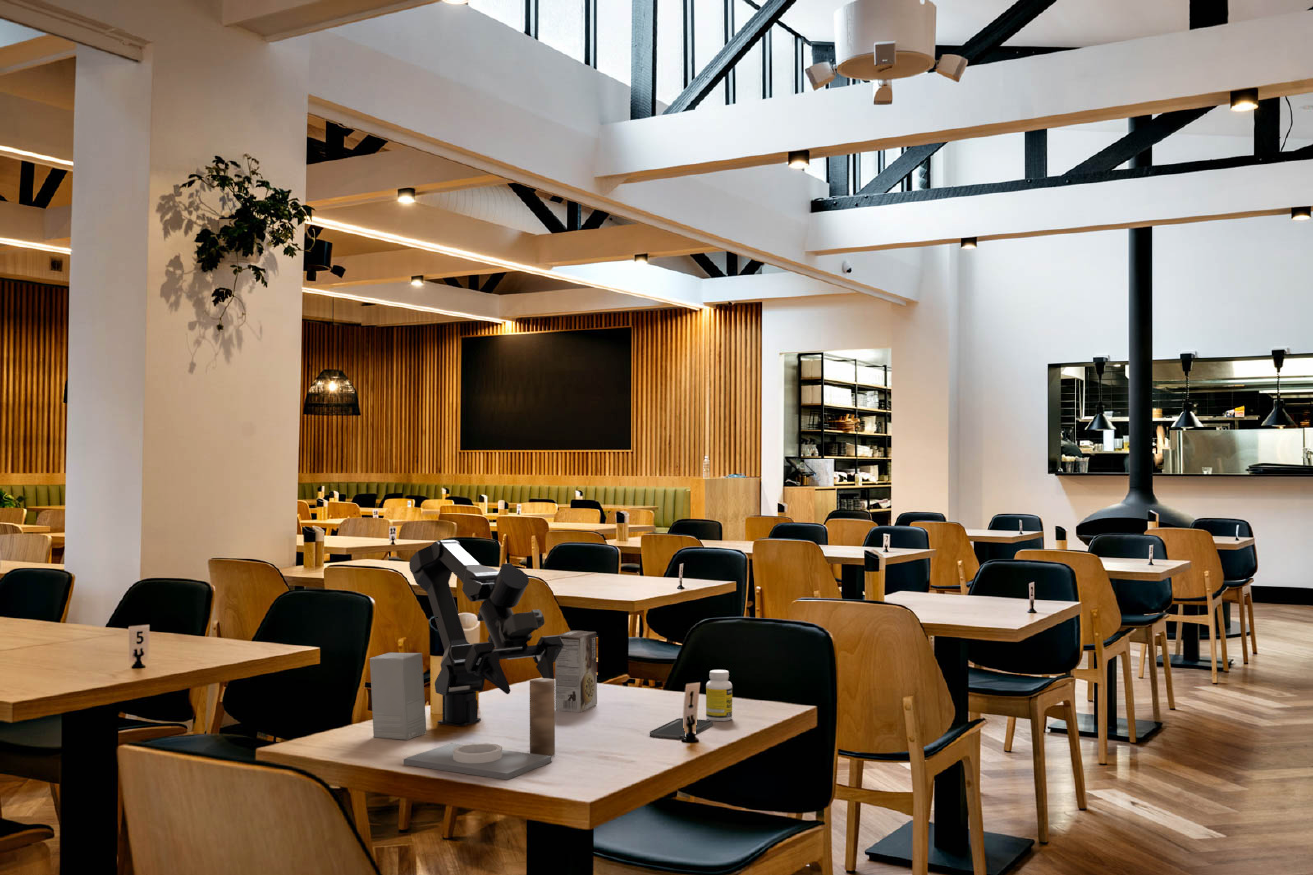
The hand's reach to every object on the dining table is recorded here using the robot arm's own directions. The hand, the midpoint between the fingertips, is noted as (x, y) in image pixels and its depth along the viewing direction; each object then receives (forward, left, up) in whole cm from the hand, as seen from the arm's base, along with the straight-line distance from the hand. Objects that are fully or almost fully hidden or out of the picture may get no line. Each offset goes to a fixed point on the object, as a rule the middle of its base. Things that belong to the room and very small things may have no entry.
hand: (531, 689), depth 198 cm
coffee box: (-13, +36, -11) cm, 40 cm away
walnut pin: (+4, -2, -11) cm, 11 cm away
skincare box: (-29, -3, -11) cm, 32 cm away
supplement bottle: (+20, +39, -11) cm, 45 cm away
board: (-2, -13, -11) cm, 17 cm away
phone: (+18, +26, -11) cm, 34 cm away
